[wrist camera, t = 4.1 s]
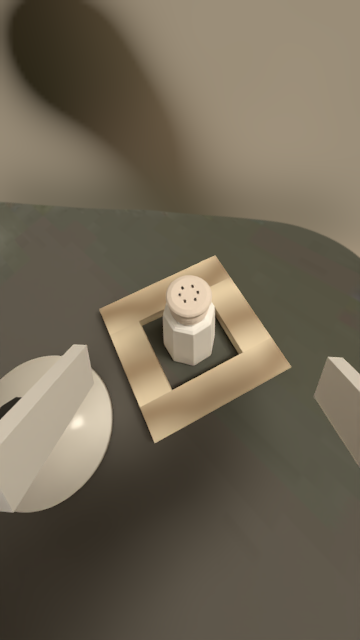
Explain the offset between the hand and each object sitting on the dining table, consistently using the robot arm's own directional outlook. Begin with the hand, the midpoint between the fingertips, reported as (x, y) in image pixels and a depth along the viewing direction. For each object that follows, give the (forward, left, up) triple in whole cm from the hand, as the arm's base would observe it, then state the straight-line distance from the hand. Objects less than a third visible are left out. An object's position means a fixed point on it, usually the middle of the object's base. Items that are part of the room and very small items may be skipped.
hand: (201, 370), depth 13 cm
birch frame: (-4, +1, -10) cm, 11 cm away
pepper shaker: (-4, +1, -10) cm, 11 cm away
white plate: (-3, -15, -10) cm, 18 cm away
